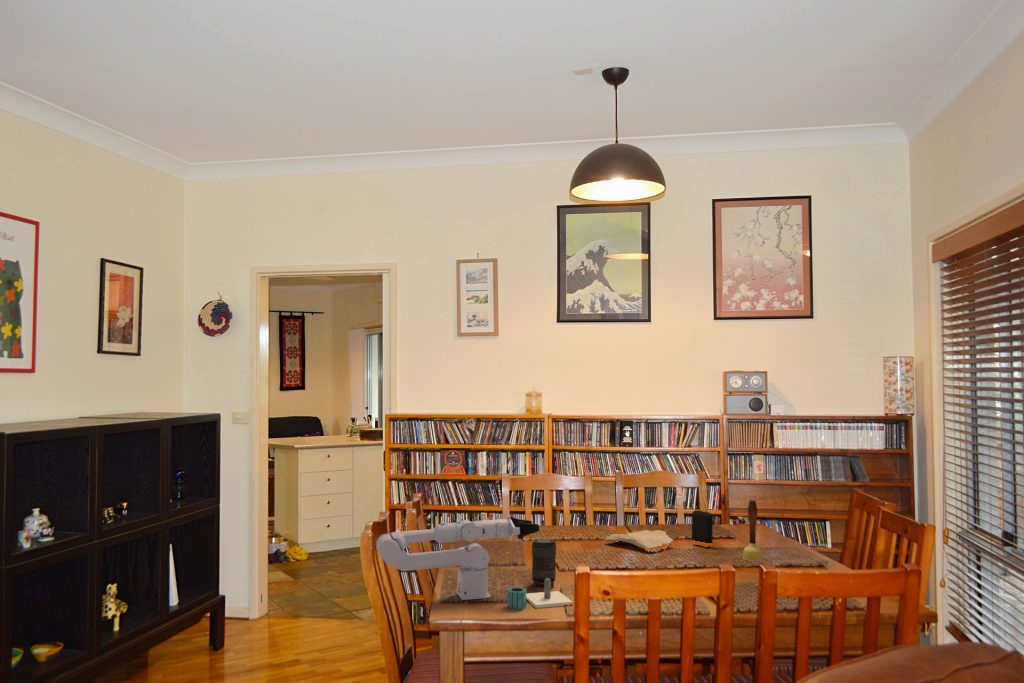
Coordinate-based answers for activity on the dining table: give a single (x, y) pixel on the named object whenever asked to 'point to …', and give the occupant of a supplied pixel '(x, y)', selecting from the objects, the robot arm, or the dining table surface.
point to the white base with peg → (547, 597)
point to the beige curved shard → (642, 538)
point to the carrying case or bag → (702, 526)
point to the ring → (516, 598)
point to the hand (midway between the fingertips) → (535, 526)
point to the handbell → (752, 535)
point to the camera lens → (543, 561)
